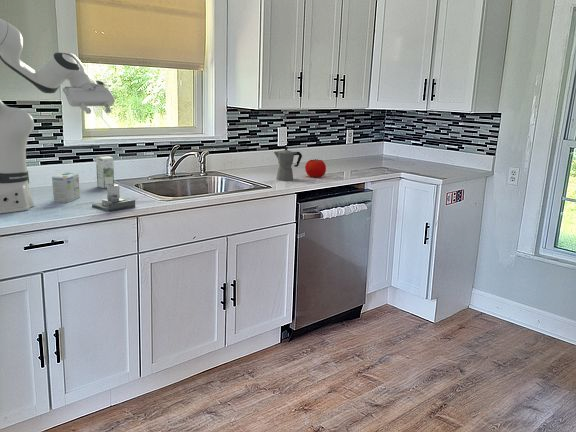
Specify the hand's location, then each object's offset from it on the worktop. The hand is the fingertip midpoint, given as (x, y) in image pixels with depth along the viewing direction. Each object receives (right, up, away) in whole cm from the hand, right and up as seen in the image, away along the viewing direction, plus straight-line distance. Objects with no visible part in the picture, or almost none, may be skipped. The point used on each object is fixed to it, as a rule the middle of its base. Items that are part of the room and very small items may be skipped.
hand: (99, 112), depth 221 cm
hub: (+7, -38, -3) cm, 39 cm away
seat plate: (+7, -39, -2) cm, 40 cm away
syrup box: (-9, -29, +34) cm, 46 cm away
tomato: (+94, -21, +83) cm, 127 cm away
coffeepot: (+78, -23, +72) cm, 108 cm away
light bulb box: (-16, -36, +6) cm, 40 cm away
